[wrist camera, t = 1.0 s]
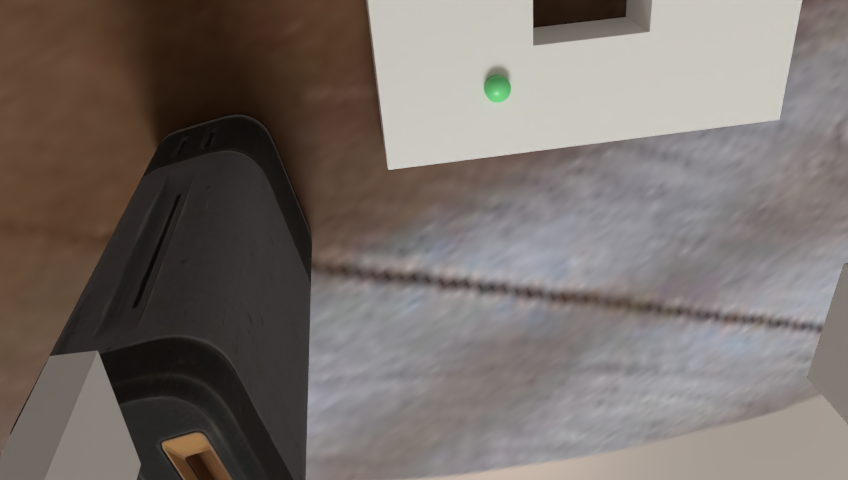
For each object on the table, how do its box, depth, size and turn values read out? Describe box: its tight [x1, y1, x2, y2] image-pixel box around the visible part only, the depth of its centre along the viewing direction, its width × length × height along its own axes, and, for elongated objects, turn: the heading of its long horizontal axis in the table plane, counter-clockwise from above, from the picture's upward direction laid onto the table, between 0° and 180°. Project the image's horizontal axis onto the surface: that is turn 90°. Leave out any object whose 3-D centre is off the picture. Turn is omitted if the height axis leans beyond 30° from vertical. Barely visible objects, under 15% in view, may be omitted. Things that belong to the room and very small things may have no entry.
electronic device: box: [10, 115, 312, 480], centre depth 29 cm, size 9×6×20 cm, turn 14°
